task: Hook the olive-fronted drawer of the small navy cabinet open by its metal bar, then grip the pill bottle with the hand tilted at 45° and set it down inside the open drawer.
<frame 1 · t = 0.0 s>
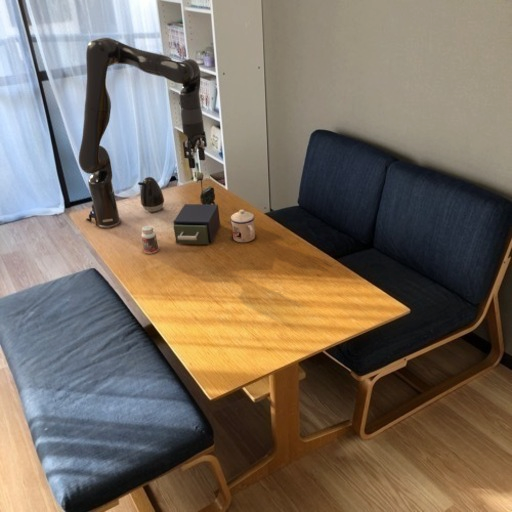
hand: (197, 163, 189), 29 cm above the table, tool pointing down, fingers open, 8 cm apart
teacup with lid: (245, 239, 198), on the table
pill bottle: (151, 251, 194), on the table
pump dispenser: (153, 210, 228), on the table
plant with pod: (206, 214, 221), on the table
cabinet: (199, 233, 204), on the table
drawer: (194, 229, 197), point 5 cm above the table, slide at 1.0 cm
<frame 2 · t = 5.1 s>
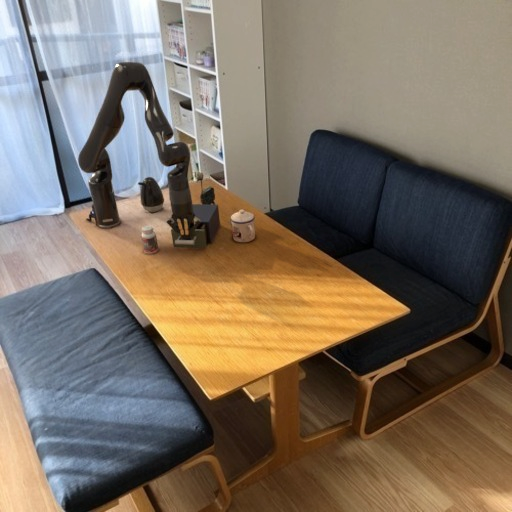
hand: (187, 242, 188), 5 cm above the table, tool pointing down, fingers closed
drawer: (191, 233, 195), point 5 cm above the table, slide at 4.4 cm
everything else where it was.
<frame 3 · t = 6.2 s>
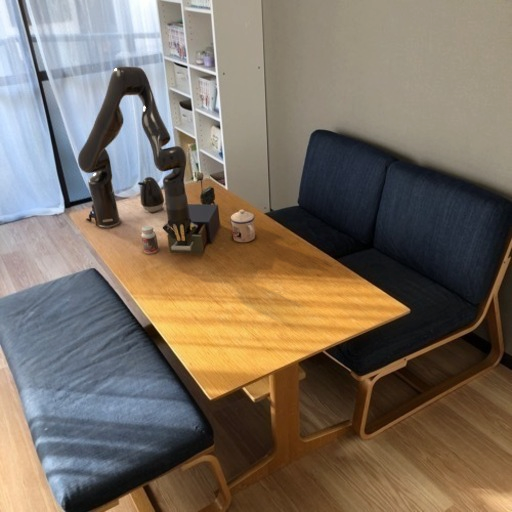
hand: (183, 248, 185), 5 cm above the table, tool pointing down, fingers closed
drawer: (188, 238, 191), point 5 cm above the table, slide at 8.7 cm, touching gripper
everything else where it was.
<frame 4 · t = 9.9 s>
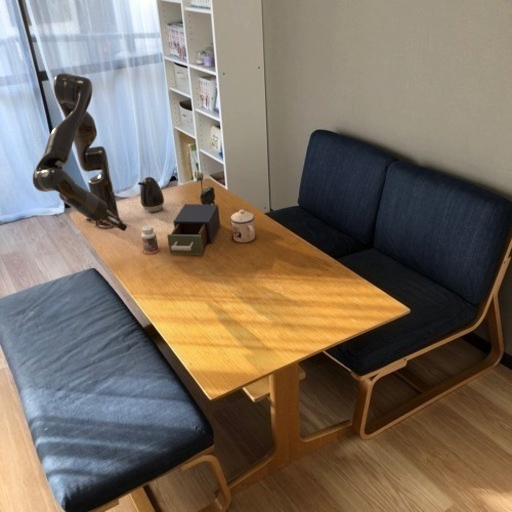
hand: (124, 228, 182), 13 cm above the table, tool tilted 40°, fingers closed
drawer: (188, 238, 191), point 5 cm above the table, slide at 8.7 cm
everything else where it was.
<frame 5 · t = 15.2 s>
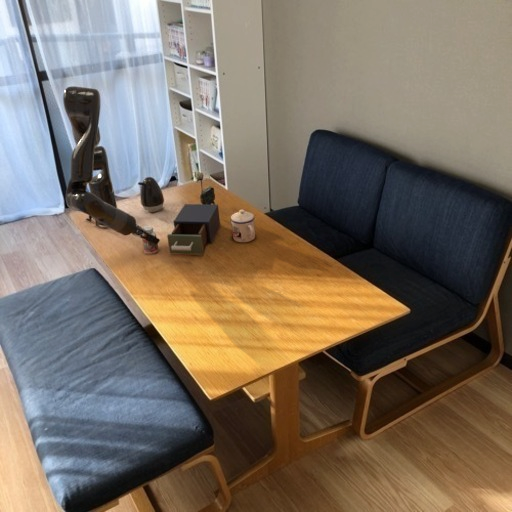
hand: (153, 239, 193), 4 cm above the table, tool tilted 45°, fingers closed on pill bottle, 5 cm apart
pill bottle: (151, 251, 194), on the table, touching gripper
everything else where it was.
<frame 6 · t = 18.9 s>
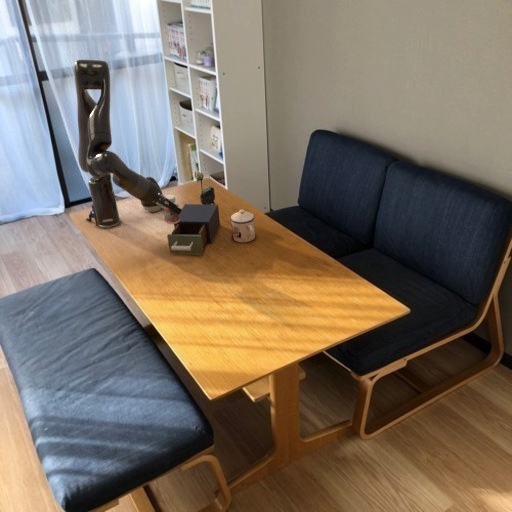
hand: (175, 209, 187), 16 cm above the table, tool tilted 45°, fingers closed on pill bottle, 5 cm apart
pill bottle: (172, 221, 188), point 12 cm above the table, touching gripper
everything else where it was.
when the fingers open (7 cm above the table, at t = 23.3 s): pill bottle stays where it is, resting on drawer.
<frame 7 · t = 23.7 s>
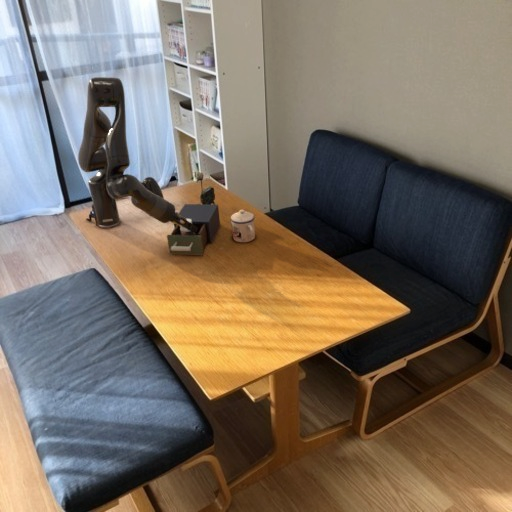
hand: (189, 226, 190), 9 cm above the table, tool tilted 45°, fingers open, 8 cm apart
pill bottle: (189, 244, 193), point 2 cm above the table, touching drawer
drawer: (188, 239, 191), point 5 cm above the table, slide at 9.1 cm, touching pill bottle
everything else where it was.
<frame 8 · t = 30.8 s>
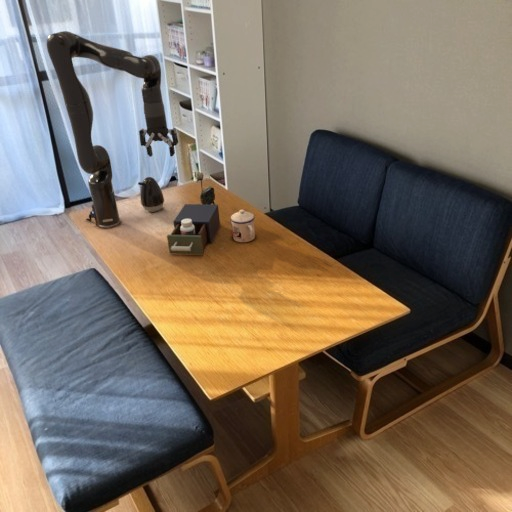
hand: (161, 155, 197), 30 cm above the table, tool pointing down, fingers open, 8 cm apart
nothing on the table moved.
at the end: drawer slide at 9.1 cm; pill bottle inside the target area in the drawer (0.8 cm from its centre), point 1.9 cm above the cabinet's base; the gripper is holding nothing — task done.
